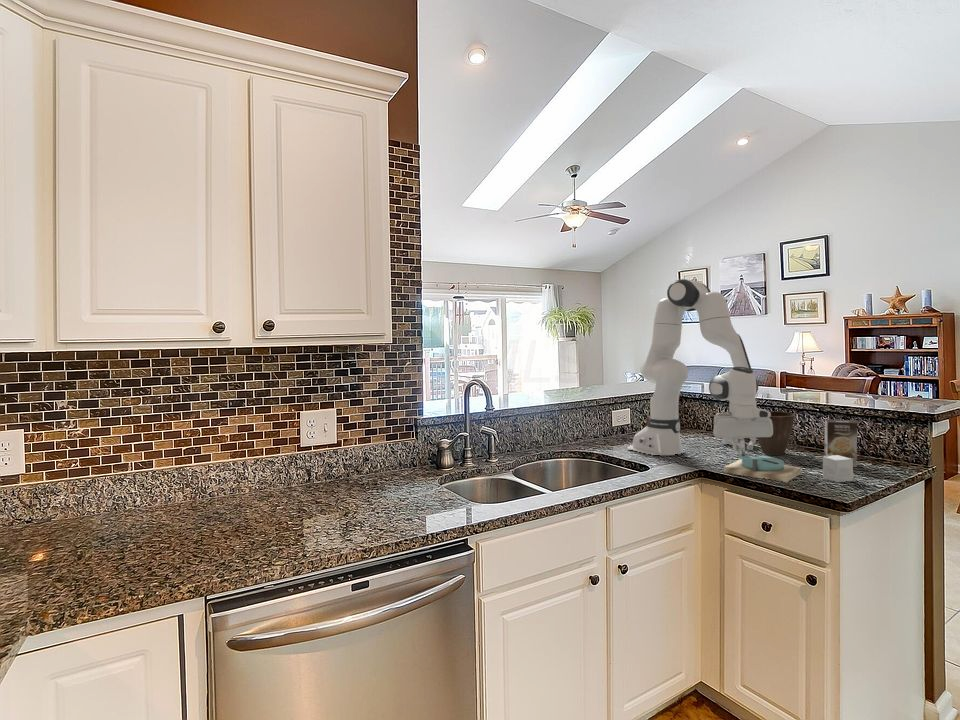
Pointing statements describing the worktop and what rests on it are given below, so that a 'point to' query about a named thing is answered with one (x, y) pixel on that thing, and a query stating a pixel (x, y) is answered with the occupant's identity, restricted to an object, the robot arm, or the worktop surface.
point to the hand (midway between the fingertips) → (742, 449)
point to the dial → (758, 460)
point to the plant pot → (778, 433)
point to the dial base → (778, 475)
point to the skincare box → (838, 468)
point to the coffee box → (841, 439)
